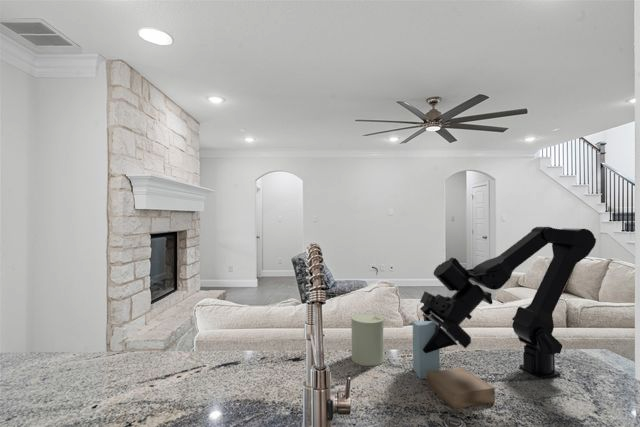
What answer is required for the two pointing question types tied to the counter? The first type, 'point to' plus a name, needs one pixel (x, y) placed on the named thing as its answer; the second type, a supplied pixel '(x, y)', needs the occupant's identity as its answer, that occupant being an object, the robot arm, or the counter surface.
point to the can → (367, 339)
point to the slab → (460, 387)
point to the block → (420, 358)
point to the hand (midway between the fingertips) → (420, 347)
